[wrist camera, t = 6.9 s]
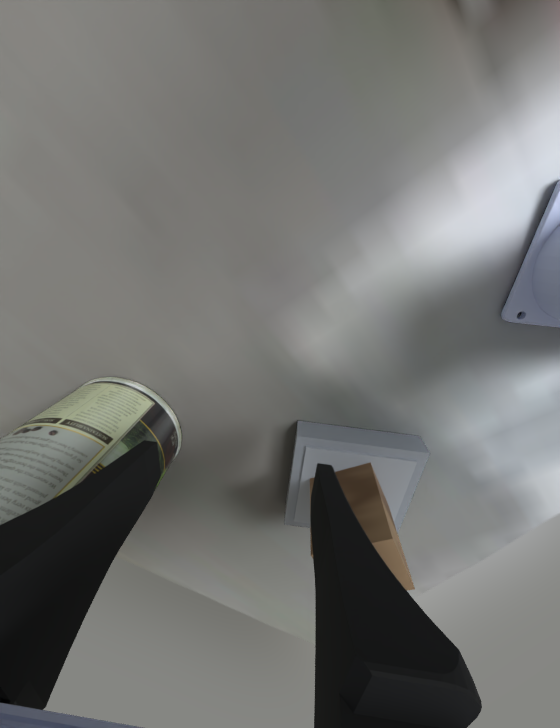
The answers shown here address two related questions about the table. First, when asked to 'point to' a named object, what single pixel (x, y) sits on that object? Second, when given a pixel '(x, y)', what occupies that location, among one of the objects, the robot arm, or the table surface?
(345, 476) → the walnut block
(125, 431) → the coffee can
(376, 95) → the table surface
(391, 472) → the pedestal
